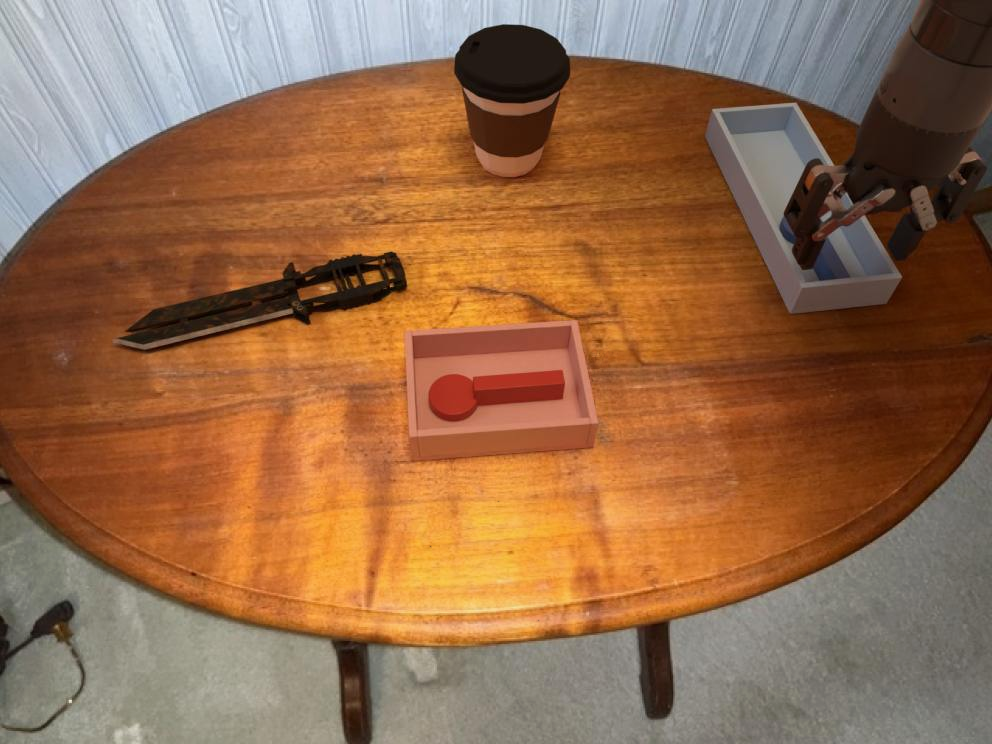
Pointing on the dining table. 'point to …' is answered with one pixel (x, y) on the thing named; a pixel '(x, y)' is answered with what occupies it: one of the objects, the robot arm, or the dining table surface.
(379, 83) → the dining table surface
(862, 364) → the dining table surface
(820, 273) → the blue spoon
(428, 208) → the dining table surface
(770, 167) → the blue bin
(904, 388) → the dining table surface
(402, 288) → the knife
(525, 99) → the coffee cup
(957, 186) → the robot arm
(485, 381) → the red spoon
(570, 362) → the rose bin
